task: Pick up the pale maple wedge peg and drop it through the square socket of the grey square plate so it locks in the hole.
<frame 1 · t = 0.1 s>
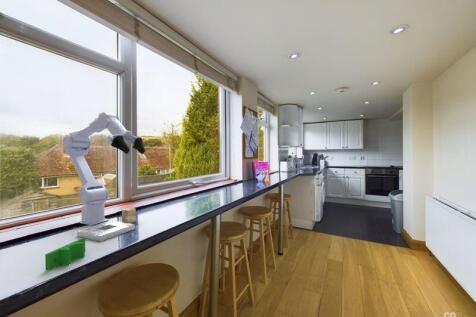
hand: (136, 152, 85), 32 cm above the countertop, tool tilted 50°, fingers open, 7 cm apart
maple wedge: (129, 222, 96), on the countertop
grey square plate: (107, 232, 82), on the countertop
pipe clamp: (70, 261, 60), on the countertop
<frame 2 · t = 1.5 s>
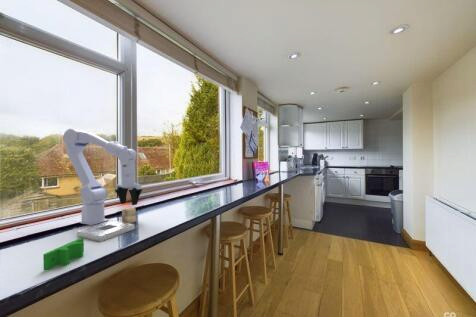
hand: (128, 204, 96), 8 cm above the countertop, tool pointing down, fingers open, 7 cm apart
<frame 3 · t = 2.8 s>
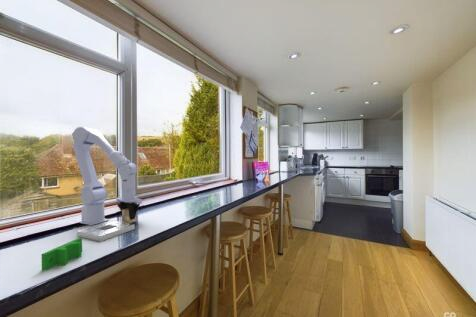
hand: (129, 218, 96), 2 cm above the countertop, tool pointing down, fingers closed on maple wedge, 4 cm apart
maple wedge: (129, 222, 96), on the countertop, touching gripper
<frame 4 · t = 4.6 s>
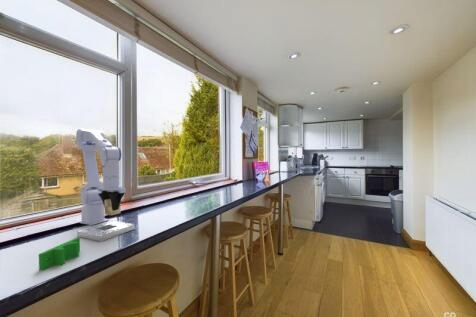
hand: (111, 209, 85), 8 cm above the countertop, tool pointing down, fingers closed on maple wedge, 4 cm apart
maple wedge: (112, 213, 85), point 7 cm above the countertop, touching gripper
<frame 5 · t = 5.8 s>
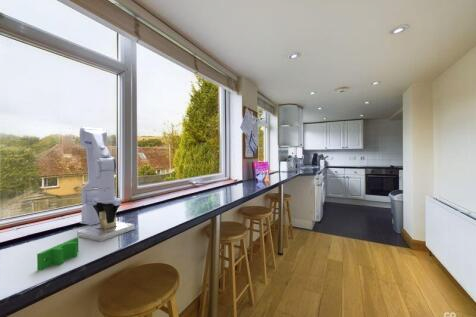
hand: (106, 222, 82), 4 cm above the countertop, tool pointing down, fingers closed on maple wedge, 4 cm apart
maple wedge: (107, 226, 83), point 2 cm above the countertop, touching gripper
when the fingers open (4 cm above the countertop, at t = 6.7 s): maple wedge drops 2 cm, resting in grey square plate.
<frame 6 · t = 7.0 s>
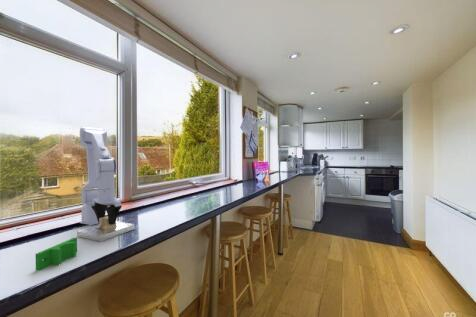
hand: (106, 222, 82), 4 cm above the countertop, tool pointing down, fingers open, 6 cm apart
maple wedge: (107, 232, 83), resting in grey square plate
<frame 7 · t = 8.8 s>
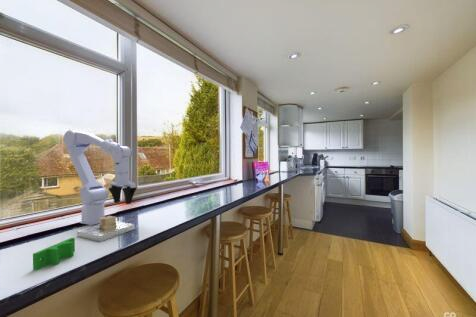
hand: (122, 203, 93), 9 cm above the countertop, tool pointing down, fingers open, 7 cm apart
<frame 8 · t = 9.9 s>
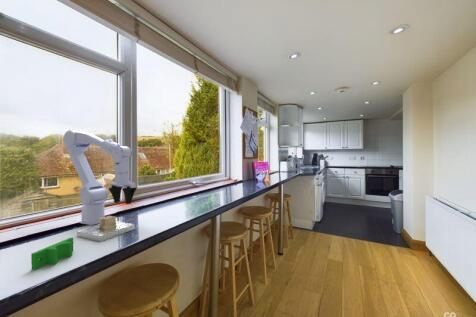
hand: (122, 203, 93), 9 cm above the countertop, tool pointing down, fingers open, 7 cm apart
at the end: maple wedge 0.3 cm off-centre on the grey square plate, point 0.0 cm above the grey square plate's base; maple wedge tilted 0°; the gripper is holding nothing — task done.
